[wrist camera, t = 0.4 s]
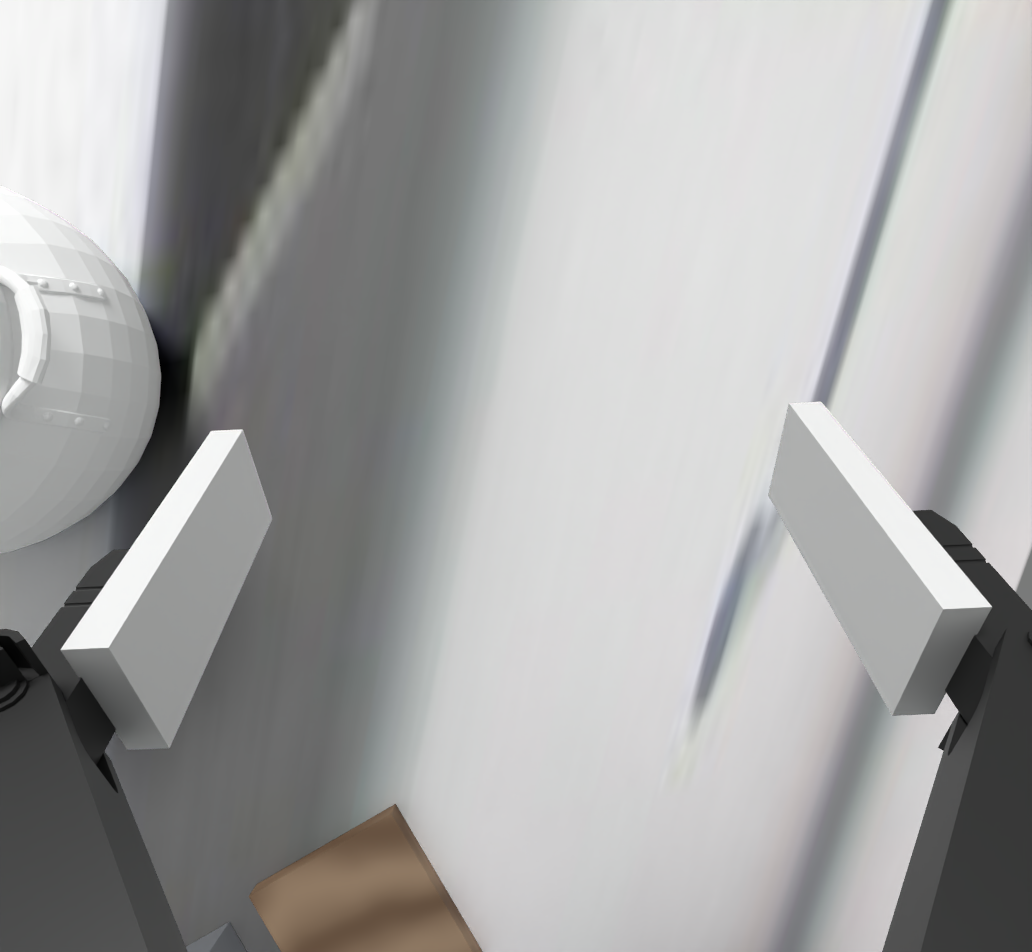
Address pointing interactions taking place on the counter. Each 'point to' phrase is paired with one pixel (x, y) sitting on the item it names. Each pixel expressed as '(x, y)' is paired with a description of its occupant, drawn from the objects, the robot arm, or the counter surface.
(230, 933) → the crate
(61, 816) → the robot arm
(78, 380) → the pot
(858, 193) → the counter surface
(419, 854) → the display board
